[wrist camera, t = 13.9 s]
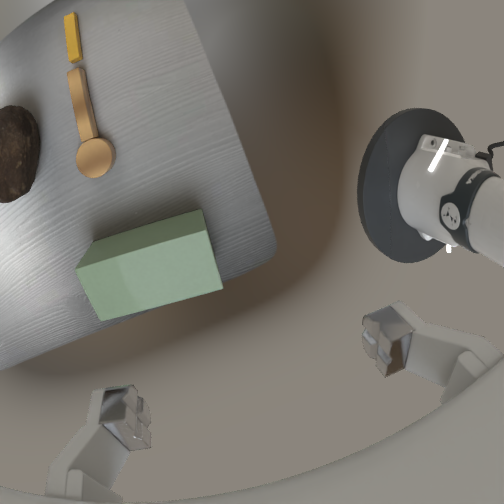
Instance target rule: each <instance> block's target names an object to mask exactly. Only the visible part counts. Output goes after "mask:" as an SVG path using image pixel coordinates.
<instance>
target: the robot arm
mask: <svg viewBox="0 0 504 504" xmlns="http://www.w3.org/2000/svg"><path fill="white" fill-rule="evenodd" d="M500 146H504V141H503V142H499V143H494V144H491V145H489V146H488V152H489V154H487V153H483V152H478V153H477V154H476V152H475V148H474V147H473V146H472V145H470V144H467V143H463V142H459V141H455V140H450V139H446V138H441V137H437V136H432V135H427V134H424V135H422V136H421V138H420V140H419V143H418V146H417V149H416V150H415V152H414V153H413V154H412V155H411V157H410V158H409V159H408V161H407V162H406V164H405V165H404V167H403V170H402V172H401V175H400V179H399V183H398V191H397V198H398V206H399V210H400V213H401V215H402V217H403V219H404V220H405V222H406V223H407V224H408V225H410V226H411V227H413V228H415V229H416V230H417V231H418V232H419V234H420V236H421V237H422V238H423V239H424V240H427V241H429V240H431V239H432V238H434V239H436V240H439V241H441V242H443V243H445V244H447V252H449V253H450V252H451V246H452V247H456V246H457V245H460V246H462V247H463V248H464V249H466V250H468V251H471V252H473V253H481V254H482V255H484V256H485V257H487V258H489V259H490V260H492V261H494V262H495V263H497V264H498V265H500V266H501V267H503V268H504V179H502V178H501V177H500V176H499V175H497V174H496V173H495V172H493V167H492V158H493V151H492V149H493V148H495V147H500ZM362 325H363V326H364V327H365V330H364V332H363V333H362V343H363V347H364V349H365V351H366V353H367V354H368V356H369V357H370V358H373V359H376V367H377V368H378V369H379V371H380V372H381V373H382V375H383V376H384V377H385V378H386V377H388V376H390V375H392V374H394V373H396V372H398V371H400V370H402V369H404V368H405V370H407V371H409V372H411V373H414V374H416V375H418V376H420V377H422V378H425V379H427V380H429V381H431V382H434V383H436V384H438V385H440V386H442V387H445V390H444V392H443V395H442V396H441V399H440V402H441V404H442V406H440V407H438V408H437V409H435V410H434V411H432V412H431V413H429V414H427V415H426V416H424V417H423V418H421V419H419V420H418V421H416V422H414V423H412V424H411V425H409V426H407V427H406V428H404V429H402V430H400V431H398V432H396V433H395V434H393V435H391V436H389V437H387V438H385V439H383V440H381V441H379V442H377V443H375V444H373V445H371V446H369V447H367V448H365V449H362V450H360V451H358V452H356V453H353V454H351V455H349V456H346V457H344V458H342V459H339V460H337V461H334V462H332V463H329V464H327V465H324V466H321V467H319V468H316V469H313V470H311V471H308V472H305V473H302V474H298V475H295V476H292V477H289V478H286V479H282V480H279V481H275V482H272V483H268V484H265V485H260V486H257V487H252V488H248V489H243V490H239V491H234V492H229V493H224V494H218V495H212V496H205V497H198V498H191V499H183V500H172V501H158V502H136V503H135V502H134V503H133V502H132V503H123V498H122V497H121V496H120V495H118V494H116V493H115V492H113V491H112V490H110V489H111V487H112V485H113V483H114V482H115V480H116V478H117V476H118V474H119V472H120V470H121V469H122V467H123V465H124V463H125V461H126V459H127V457H128V456H129V454H130V451H134V450H141V449H148V448H151V432H150V431H149V430H148V429H147V428H148V426H149V424H150V423H151V414H150V410H149V407H148V405H147V403H146V401H145V400H144V399H143V398H141V397H139V396H137V394H138V391H137V389H136V388H135V387H134V385H123V386H117V387H110V388H104V389H96V390H94V391H93V392H92V396H91V400H90V405H89V410H88V416H87V421H86V426H82V427H81V428H80V429H79V431H78V432H77V433H76V434H75V436H74V437H73V438H72V439H71V440H70V442H69V443H68V444H67V445H66V446H65V448H64V449H63V450H62V451H61V453H60V454H59V455H58V456H57V457H56V459H55V460H54V461H53V462H52V464H51V465H50V466H49V469H48V476H47V482H46V489H45V496H43V495H37V494H31V493H27V492H22V491H18V490H14V489H10V488H6V487H2V486H0V504H504V354H502V353H501V352H500V351H499V350H498V349H497V348H496V347H495V346H494V345H493V344H492V343H490V341H488V340H487V339H486V338H485V337H484V336H480V335H476V334H471V333H468V332H464V331H460V330H456V329H451V328H448V327H444V326H440V325H436V324H433V323H429V324H426V323H425V322H424V321H423V320H422V319H421V318H420V317H419V316H417V314H415V313H414V312H413V311H412V310H411V309H410V308H409V307H408V306H407V305H406V304H404V303H403V302H402V301H397V302H395V303H392V304H390V305H388V306H386V307H384V308H381V309H379V310H377V311H374V312H372V313H370V314H367V315H365V316H364V317H363V321H362Z"/></svg>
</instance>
